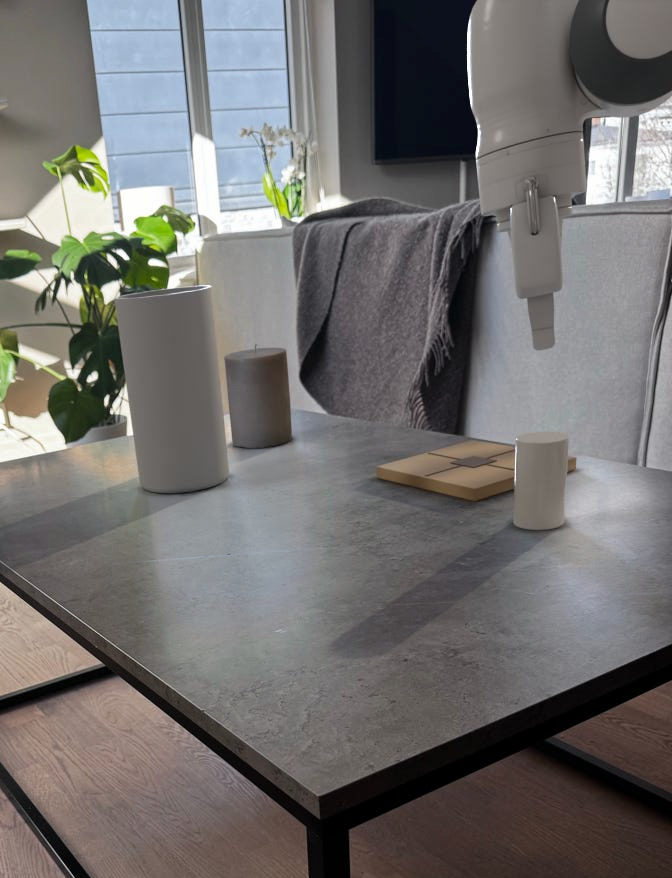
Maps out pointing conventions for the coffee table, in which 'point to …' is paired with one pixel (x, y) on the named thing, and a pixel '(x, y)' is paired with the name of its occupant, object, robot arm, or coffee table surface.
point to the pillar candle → (258, 397)
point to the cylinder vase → (174, 388)
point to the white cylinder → (540, 480)
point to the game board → (459, 470)
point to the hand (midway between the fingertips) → (544, 344)
